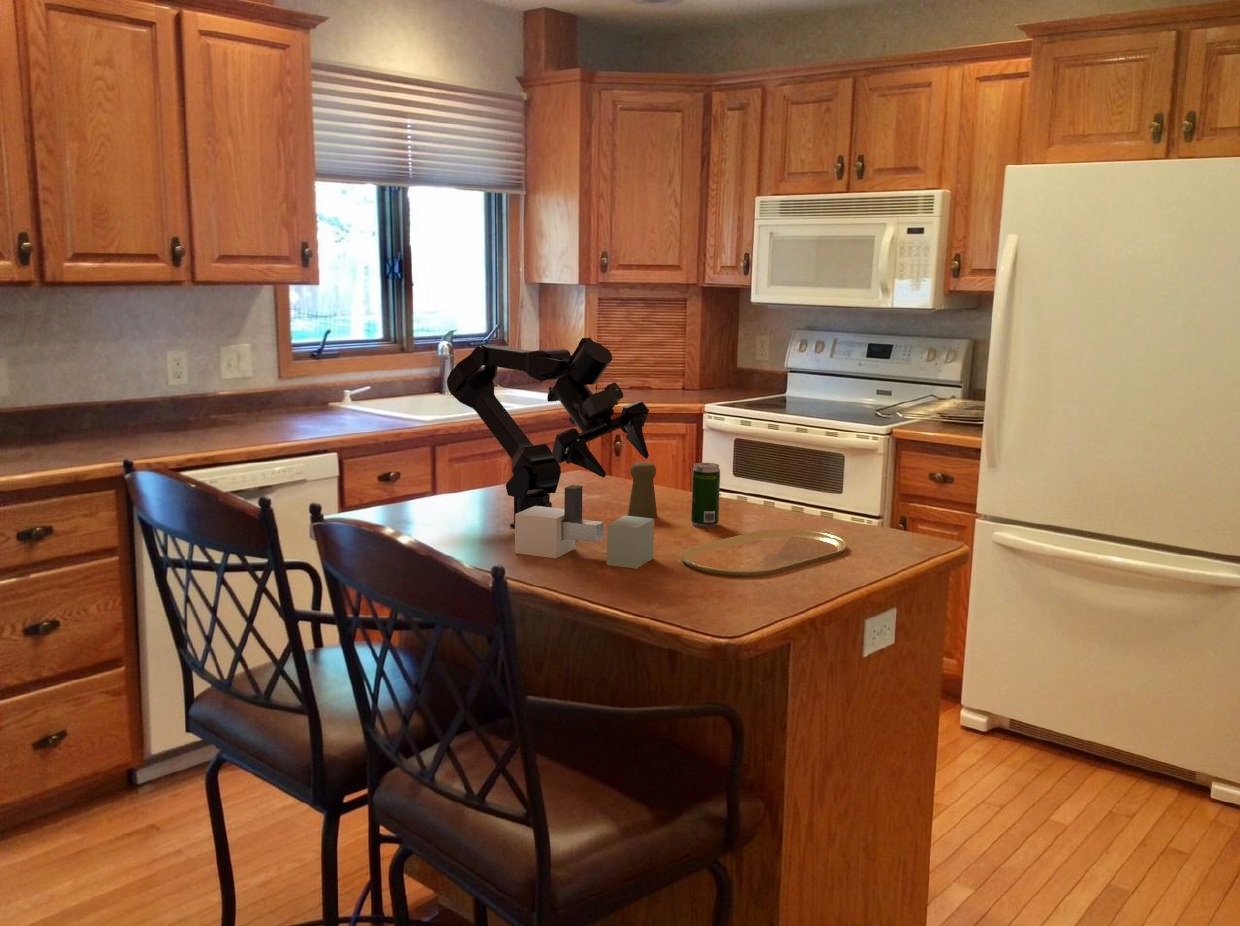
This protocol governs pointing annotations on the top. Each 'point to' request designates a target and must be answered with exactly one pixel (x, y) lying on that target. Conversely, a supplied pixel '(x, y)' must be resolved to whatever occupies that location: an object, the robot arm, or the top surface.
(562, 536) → the grey bridging bar
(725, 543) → the serving platter
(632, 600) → the top surface
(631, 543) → the socket block
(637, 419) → the robot arm
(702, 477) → the beer can
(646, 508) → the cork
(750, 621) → the top surface
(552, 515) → the sleeve
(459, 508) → the top surface
